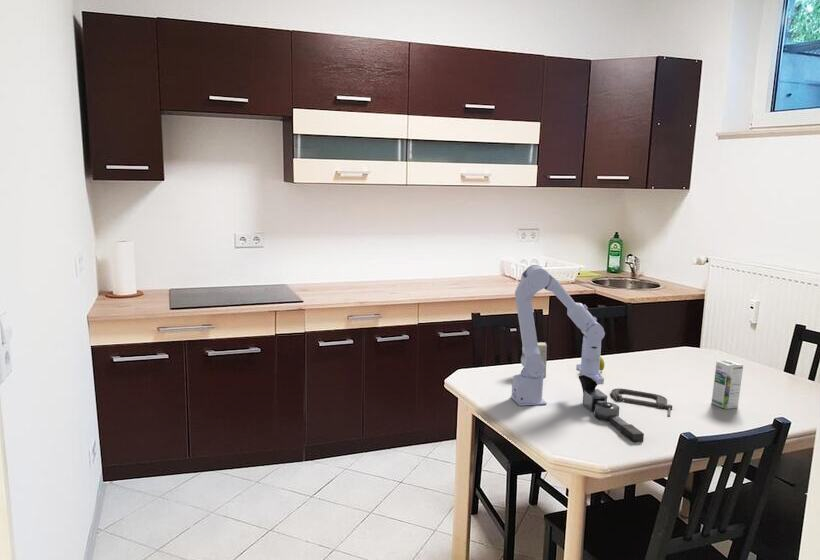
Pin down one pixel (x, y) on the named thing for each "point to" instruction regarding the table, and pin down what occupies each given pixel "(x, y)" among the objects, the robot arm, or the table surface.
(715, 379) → the syrup box
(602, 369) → the tennis ball
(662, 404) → the c clamp
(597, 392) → the brushed steel cube
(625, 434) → the ratchet
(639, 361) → the table surface
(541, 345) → the skincare box
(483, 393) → the table surface
